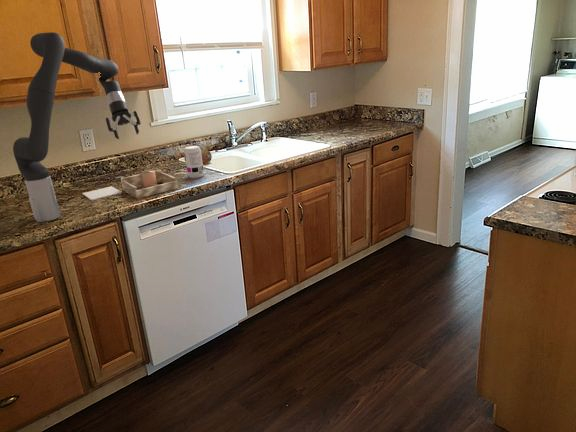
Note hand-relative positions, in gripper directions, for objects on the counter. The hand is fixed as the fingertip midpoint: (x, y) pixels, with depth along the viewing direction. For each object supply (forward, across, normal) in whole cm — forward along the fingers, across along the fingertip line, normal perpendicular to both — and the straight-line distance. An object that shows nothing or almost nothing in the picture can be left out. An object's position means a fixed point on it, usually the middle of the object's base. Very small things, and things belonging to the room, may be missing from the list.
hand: (127, 136), depth 204 cm
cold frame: (+23, +2, +13) cm, 27 cm away
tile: (+18, -20, +16) cm, 31 cm away
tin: (+9, +31, +46) cm, 56 cm away
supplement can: (+20, +25, +24) cm, 41 cm away
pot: (+24, +2, +12) cm, 27 cm away
